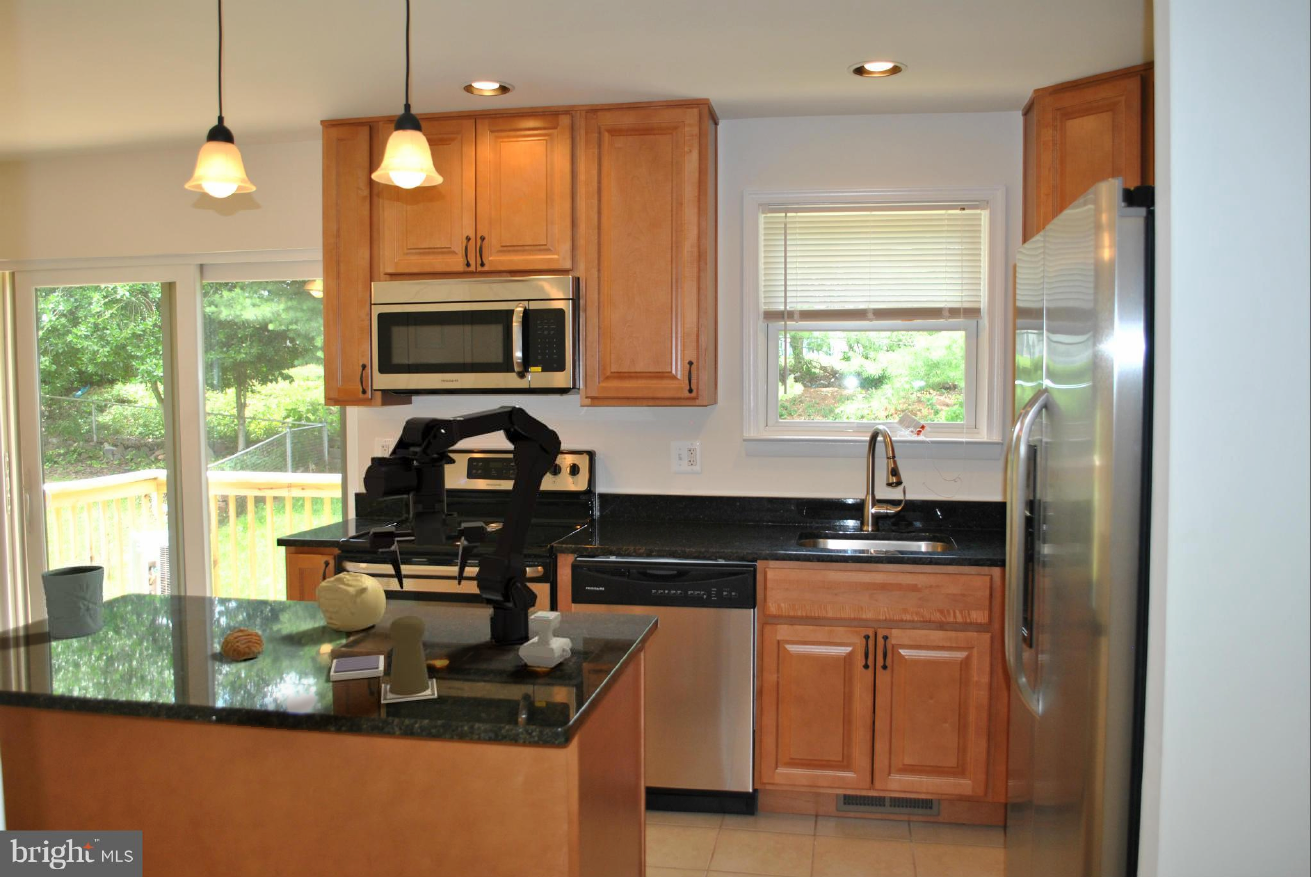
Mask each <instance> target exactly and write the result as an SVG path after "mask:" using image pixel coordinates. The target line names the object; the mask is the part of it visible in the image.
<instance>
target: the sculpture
mask: <svg viewBox="0 0 1311 877" xmlns="http://www.w3.org/2000/svg"><path fill="white" fill-rule="evenodd" d="M315 596H316V605H317V608H319V609H320V610H321V613H322V615H323V618H324V619H325V621H326V625H328V627H330V628H332V629H333V630H335V631H338V632H345V633H346V632H356V631H361V630H364V629H367V628H369V627H372V626H373V625H375V624H377V623H378V622H379V621H381V619H382V618H383V615H384V614H385V610H386V603H387V602H386V600H387V599H386V594H385V591H384V589H383V587H382V585H381V583H379V582H378V581H377V580H376V579H375V578H374V577H372V576H370V575H367V574H364V573H359V572H358V573H356V572H353V571H349V572H347V571H344V572H341V573H339V574H336V575H334V576H332V577H330V578H326V579H325V580H323V581H322V582H321V583H320V584H319V585H318V586H317V587H316V590H315Z"/></svg>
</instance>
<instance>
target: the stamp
mask: <svg viewBox="0 0 1311 877" xmlns="http://www.w3.org/2000/svg"><path fill="white" fill-rule="evenodd" d="M561 621H562V616H561V612H559V611H558V612H557V611H544V610H542V611H541V610H539V611H537V612H536V613H535V614H532V615H531V616H530V617H529V629H531V631H536V632H537V636H535V637H533V639H532V638H531V640H530V641H529V642H526V643H523V644H522V645H521V646H520V647H519V650H518V655H519V656H520V657H521V659H522V660H524V662H525V663H526V664H527V666H531V667H532V666H533V667H538V666H540V667H541V668H550V669H551V668H554V667H555V666H557V665H558V664H559V663H561V662H562V661H564V660H565V659H567V658H569V657H571V654H572V653H571V648H572V647H573V644H572V641H571V640H570V639H569V638H568V637H567V638H566V637H558V636H557V637H556V636H553V630H554V629H556V628H558V627H559V626H560V622H561ZM540 667H539V668H540Z"/></svg>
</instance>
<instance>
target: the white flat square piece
mask: <svg viewBox="0 0 1311 877" xmlns="http://www.w3.org/2000/svg"><path fill="white" fill-rule="evenodd" d="M428 680H429V686H430V688H429V689H428V690H426V691H425V692H422V693H419V694H415V695H407V696H400V695H394V694H391V693H390V692H389V686H390V682H388V683H382V684H381V698H380V700H381V701H380V702H381V704H388V703H399V702H407V701H416V700H418V701H419V700H427V699H429V700H430V699H437V698H438V693H437V683H436V678H428Z"/></svg>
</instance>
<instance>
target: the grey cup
mask: <svg viewBox="0 0 1311 877" xmlns="http://www.w3.org/2000/svg"><path fill="white" fill-rule="evenodd" d="M104 577H105V567H104V566H102V565H79V566H78V565H77V566H68V567H67V566H66V567H61V568H56V569H51V570H50V569H49V570H47V571H44V572H42V573H41V581H42V585H43V587H42V588H43V590H44V596H45V608H46V614H47V620H48V630H49V635H50V637H51V638H53V639H59V640H60V639H61V640H62V639H64V640H65V639H75V638H82V637H87V636H92V635H95V634H97V633H99V632H102V630H103V627H104V626H103V625H104V624H103V623H104V613H103V609H104V595H103V593H104Z"/></svg>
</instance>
